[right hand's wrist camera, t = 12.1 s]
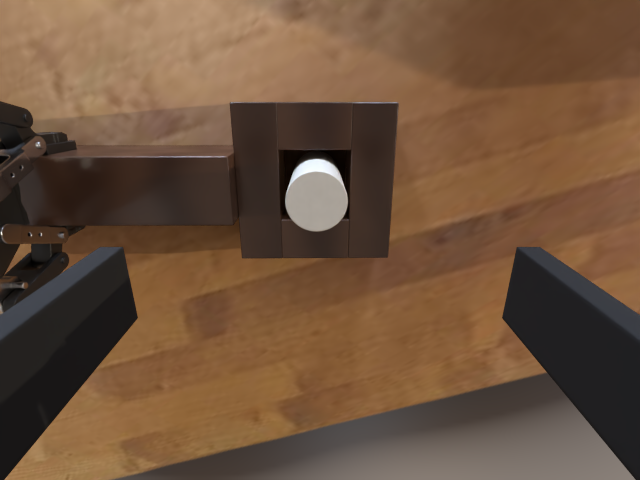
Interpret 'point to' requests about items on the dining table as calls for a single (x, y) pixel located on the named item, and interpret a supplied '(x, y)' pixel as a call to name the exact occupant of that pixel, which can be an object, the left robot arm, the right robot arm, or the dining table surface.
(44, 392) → the right robot arm
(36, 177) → the peg stand
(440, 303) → the dining table surface
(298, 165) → the peg
